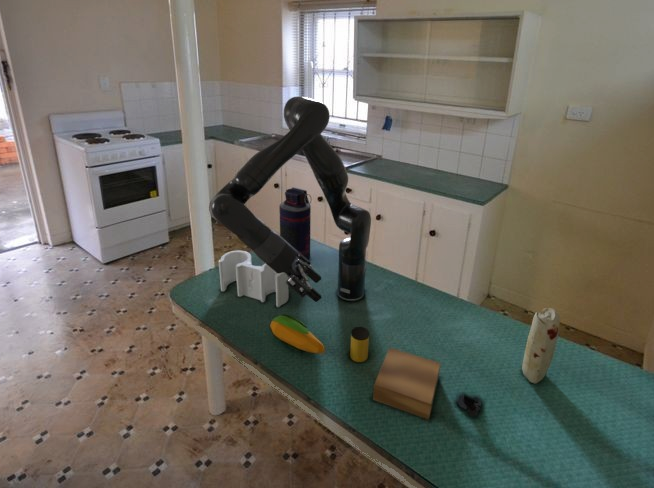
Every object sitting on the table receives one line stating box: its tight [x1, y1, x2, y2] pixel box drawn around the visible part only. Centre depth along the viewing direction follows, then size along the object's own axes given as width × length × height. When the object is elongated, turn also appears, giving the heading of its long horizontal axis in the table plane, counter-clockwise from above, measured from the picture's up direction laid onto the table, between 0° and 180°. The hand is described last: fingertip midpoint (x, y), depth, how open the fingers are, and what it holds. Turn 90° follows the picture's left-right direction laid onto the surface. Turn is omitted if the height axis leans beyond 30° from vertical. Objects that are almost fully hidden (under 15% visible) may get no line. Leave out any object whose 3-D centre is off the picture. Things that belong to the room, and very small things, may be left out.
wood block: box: [372, 346, 442, 420], centre depth 104 cm, size 14×14×5 cm
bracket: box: [218, 249, 290, 308], centre depth 140 cm, size 25×10×12 cm, turn 67°
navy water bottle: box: [278, 186, 312, 262], centre depth 158 cm, size 14×12×30 cm
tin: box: [349, 326, 370, 363], centre depth 114 cm, size 5×5×8 cm
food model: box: [521, 307, 561, 384], centre depth 107 cm, size 10×7×20 cm
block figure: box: [456, 394, 482, 418], centre depth 100 cm, size 6×2×6 cm
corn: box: [269, 314, 326, 354], centre depth 117 cm, size 7×8×20 cm
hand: (319, 289), depth 107 cm, fingers open, 8 cm apart
